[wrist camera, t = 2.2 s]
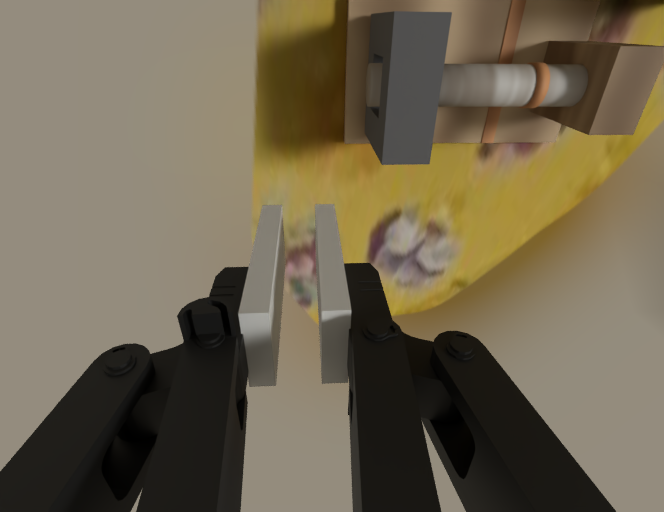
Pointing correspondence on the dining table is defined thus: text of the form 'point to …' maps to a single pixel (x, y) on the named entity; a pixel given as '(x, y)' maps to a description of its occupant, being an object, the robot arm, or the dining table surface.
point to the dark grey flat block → (406, 83)
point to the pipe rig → (512, 71)
